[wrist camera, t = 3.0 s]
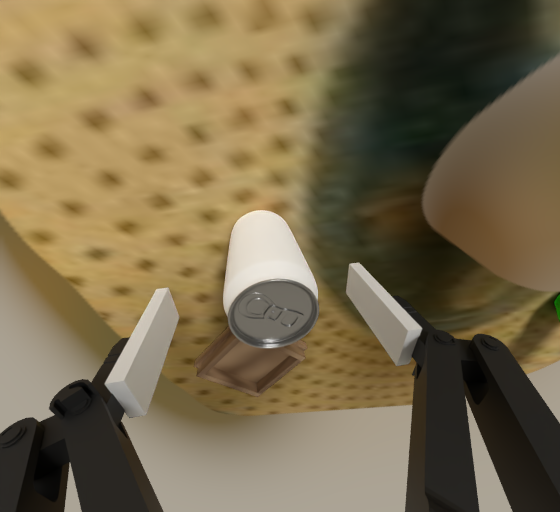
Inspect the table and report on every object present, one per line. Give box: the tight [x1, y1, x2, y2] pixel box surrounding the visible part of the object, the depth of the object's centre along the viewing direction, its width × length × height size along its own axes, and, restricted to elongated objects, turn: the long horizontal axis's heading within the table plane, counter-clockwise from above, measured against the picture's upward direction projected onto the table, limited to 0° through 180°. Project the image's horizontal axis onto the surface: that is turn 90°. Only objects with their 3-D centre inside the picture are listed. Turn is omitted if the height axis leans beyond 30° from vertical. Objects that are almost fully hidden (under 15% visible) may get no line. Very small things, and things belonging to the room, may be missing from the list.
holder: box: [194, 326, 307, 397], centre depth 31 cm, size 12×12×2 cm
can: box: [223, 210, 319, 349], centre depth 19 cm, size 6×6×12 cm
